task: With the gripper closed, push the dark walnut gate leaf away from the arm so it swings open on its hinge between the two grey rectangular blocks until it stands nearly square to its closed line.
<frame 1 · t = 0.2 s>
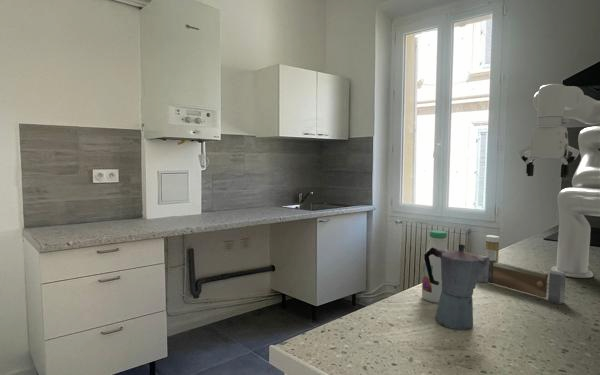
hand: (546, 176, 128), 36 cm above the counter, tool pointing down, fingers open, 9 cm apart
sprinkles bottle: (490, 272, 145), on the counter
milk bottle: (435, 299, 115), on the counter
moka pot: (452, 323, 98), on the counter
grey rectangular blocks: (515, 290, 124), on the counter
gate: (515, 277, 124), point 4 cm above the counter, hinge at 0.0°
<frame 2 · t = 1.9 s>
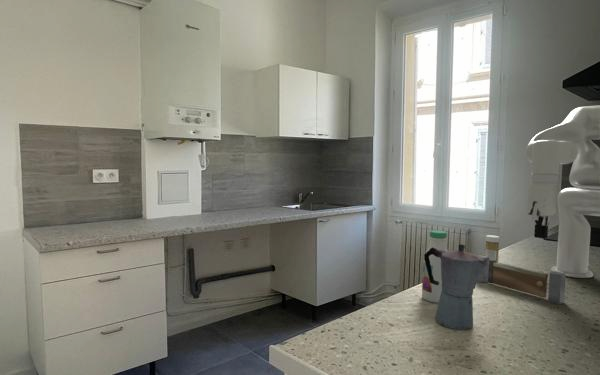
hand: (540, 237, 125), 17 cm above the counter, tool pointing down, fingers closed
nothing on the counter moved.
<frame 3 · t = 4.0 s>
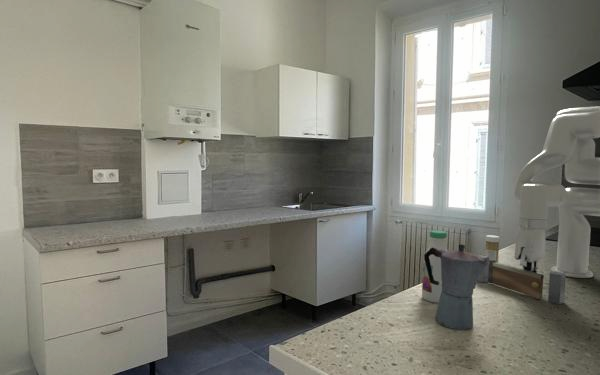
hand: (529, 282, 122), 3 cm above the counter, tool pointing down, fingers closed
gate: (512, 278, 123), point 4 cm above the counter, hinge at 8.4°, touching gripper
everything else where it was.
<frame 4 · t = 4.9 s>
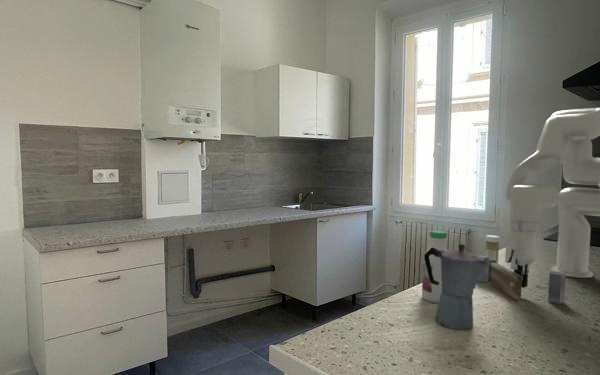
hand: (520, 286, 119), 3 cm above the counter, tool pointing down, fingers closed
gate: (502, 278, 122), point 4 cm above the counter, hinge at 35.0°, touching gripper
everything else where it was.
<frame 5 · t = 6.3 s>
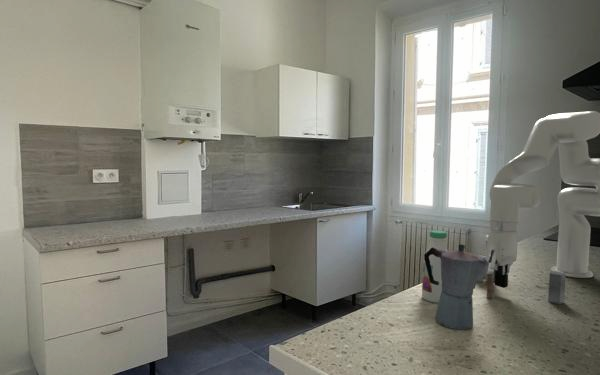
hand: (501, 286, 120), 3 cm above the counter, tool pointing down, fingers closed
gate: (489, 277, 123), point 4 cm above the counter, hinge at 62.7°, touching gripper
everything else where it was.
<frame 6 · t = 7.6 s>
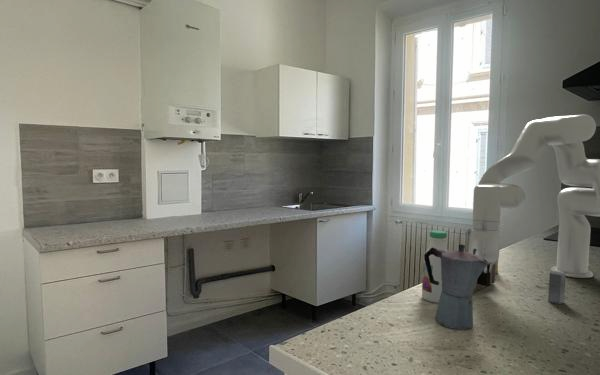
hand: (483, 284, 121), 3 cm above the counter, tool pointing down, fingers closed
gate: (479, 275, 125), point 4 cm above the counter, hinge at 83.8°, touching gripper
everything else where it was.
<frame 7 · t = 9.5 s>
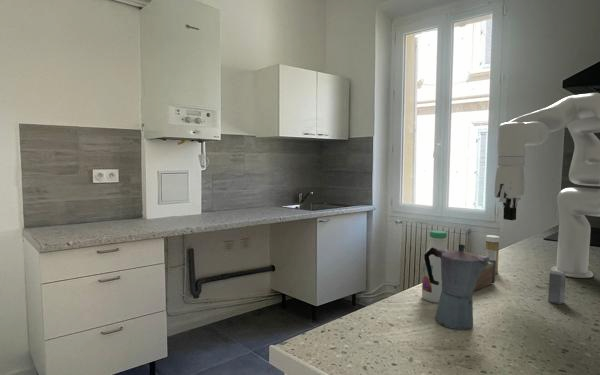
hand: (509, 219, 126), 22 cm above the counter, tool pointing down, fingers closed
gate: (479, 275, 125), point 4 cm above the counter, hinge at 84.4°
everything else where it was.
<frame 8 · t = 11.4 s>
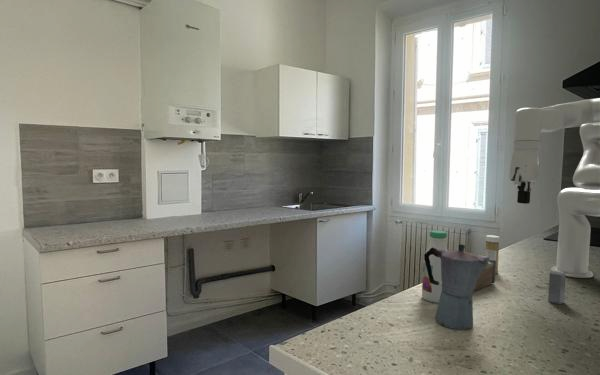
hand: (523, 203, 129), 27 cm above the counter, tool pointing down, fingers closed
nothing on the counter moved.
at the end: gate at +84° (first picture: +0°); sprinkles bottle moved 0.2 cm from its start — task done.
